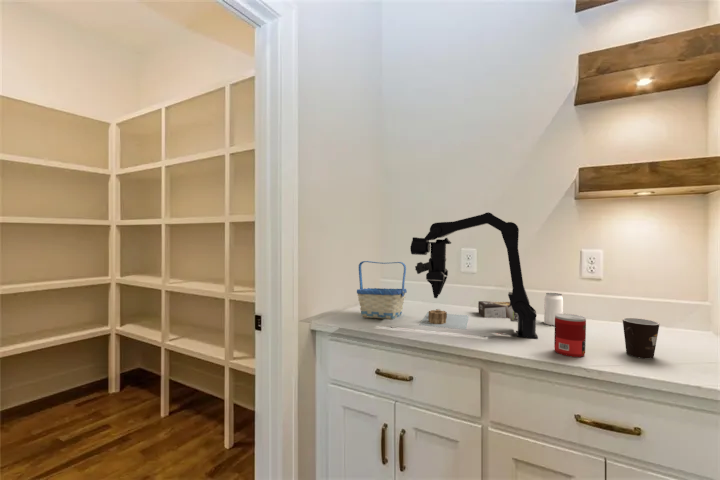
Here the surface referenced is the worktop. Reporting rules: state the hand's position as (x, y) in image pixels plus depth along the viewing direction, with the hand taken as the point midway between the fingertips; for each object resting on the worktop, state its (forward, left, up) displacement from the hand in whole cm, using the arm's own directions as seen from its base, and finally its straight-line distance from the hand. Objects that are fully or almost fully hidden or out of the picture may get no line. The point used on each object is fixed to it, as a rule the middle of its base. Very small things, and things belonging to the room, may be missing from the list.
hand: (437, 296), depth 138 cm
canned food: (-19, -41, -11) cm, 47 cm away
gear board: (+5, -3, -11) cm, 13 cm away
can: (+19, -43, -11) cm, 49 cm away
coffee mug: (-14, -59, -11) cm, 62 cm away
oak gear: (0, 0, -10) cm, 10 cm away
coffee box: (+24, -32, -8) cm, 41 cm away
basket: (+5, +24, -12) cm, 27 cm away
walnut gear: (+8, 0, -10) cm, 13 cm away
